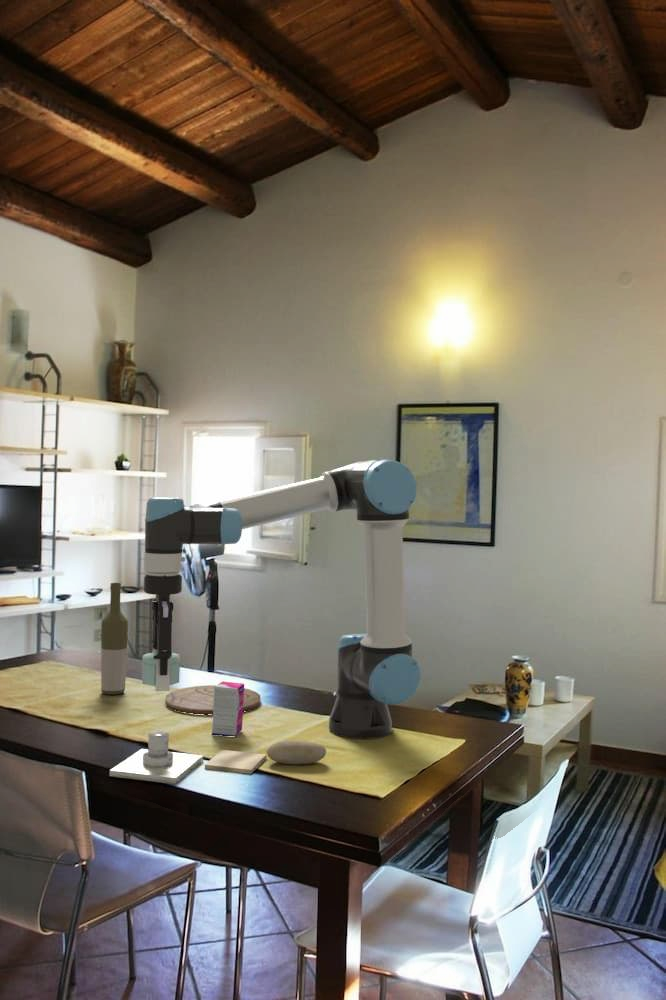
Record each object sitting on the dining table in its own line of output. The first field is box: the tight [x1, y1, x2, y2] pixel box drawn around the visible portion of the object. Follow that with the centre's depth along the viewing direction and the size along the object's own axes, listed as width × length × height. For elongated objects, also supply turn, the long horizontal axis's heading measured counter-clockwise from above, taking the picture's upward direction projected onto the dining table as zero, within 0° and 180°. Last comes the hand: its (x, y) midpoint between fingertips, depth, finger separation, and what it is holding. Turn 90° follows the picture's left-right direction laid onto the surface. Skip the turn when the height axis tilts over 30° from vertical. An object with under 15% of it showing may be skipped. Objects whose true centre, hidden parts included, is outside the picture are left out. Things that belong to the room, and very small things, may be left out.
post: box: [109, 730, 204, 785], centre depth 171 cm, size 14×14×7 cm
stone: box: [266, 740, 327, 765], centre depth 177 cm, size 6×6×12 cm
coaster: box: [204, 749, 267, 775], centre depth 176 cm, size 10×10×1 cm
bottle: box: [100, 582, 129, 696], centre depth 229 cm, size 7×7×30 cm
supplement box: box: [211, 681, 245, 737], centre depth 196 cm, size 6×6×12 cm
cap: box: [141, 650, 181, 687], centre depth 171 cm, size 7×7×6 cm
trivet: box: [164, 684, 262, 715], centre depth 223 cm, size 25×25×2 cm
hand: (160, 685), depth 171 cm, fingers closed on cap, 7 cm apart
